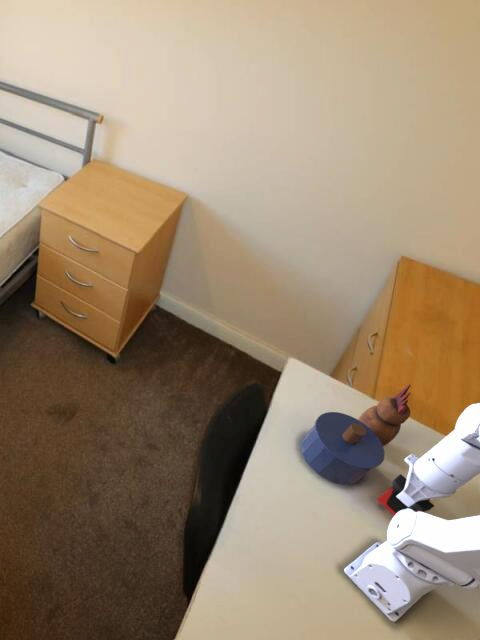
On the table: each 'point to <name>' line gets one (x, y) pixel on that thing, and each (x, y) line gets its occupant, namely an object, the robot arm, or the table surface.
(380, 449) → the pot lid
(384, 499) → the block
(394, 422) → the wooden figurine
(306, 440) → the pot
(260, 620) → the table surface
